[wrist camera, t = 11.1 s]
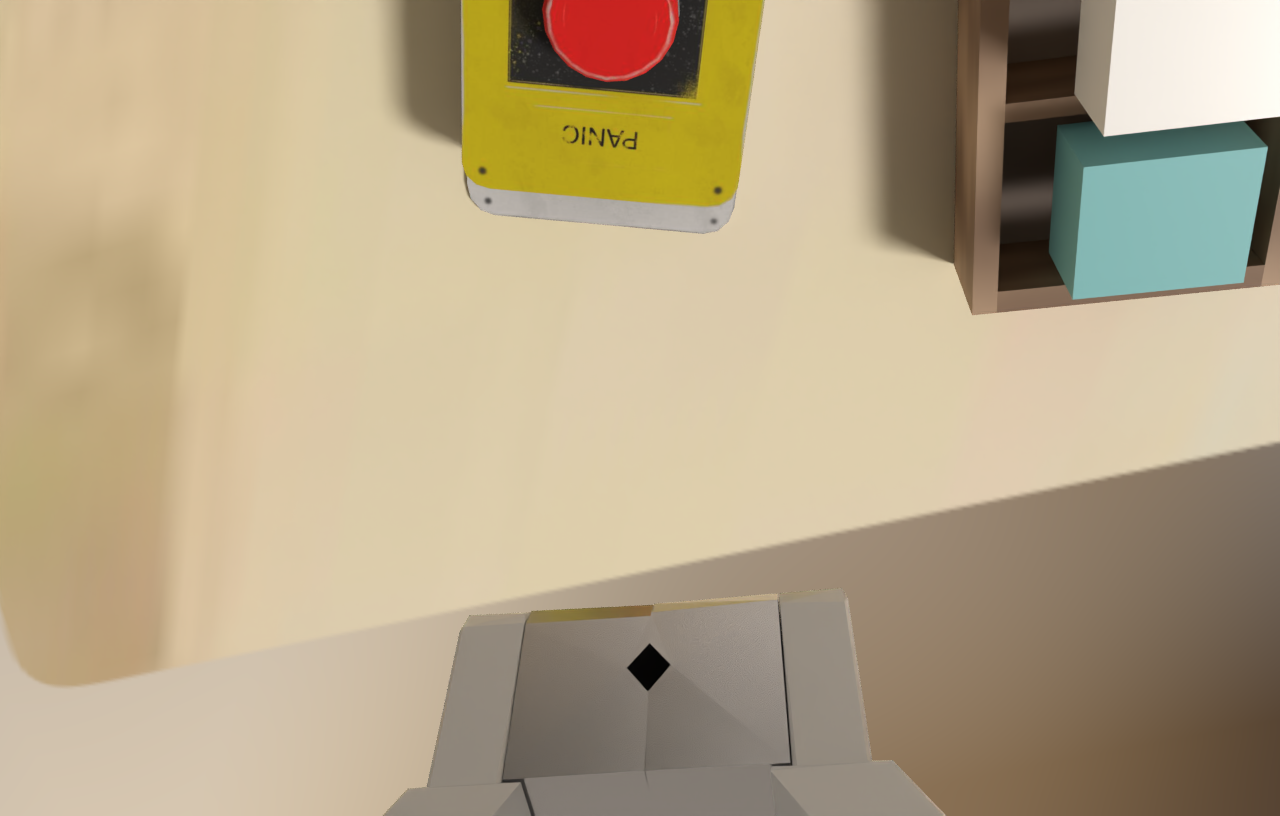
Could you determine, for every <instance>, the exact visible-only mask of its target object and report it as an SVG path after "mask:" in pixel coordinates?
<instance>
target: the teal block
mask: <svg viewBox="0 0 1280 816" xmlns="http://www.w3.org/2000/svg"><path fill="white" fill-rule="evenodd" d="M1267 150H1268V146H1267V145H1266V144H1265V143H1264V142H1263V141H1262V140H1261V139H1260V138H1259V137H1258V136H1257V135H1256V134H1255V133H1254V132H1253V130H1252V129H1251V128H1250V127H1249V126H1248V125H1247V124H1246V123H1245V122H1244V121H1236V122H1227V123H1219V124H1210V125H1201V126H1192V127H1184V128H1175V129H1166V130H1157V131H1148V132H1140V133H1131V134H1122V135H1113V136H1103V135H1102V133H1101V132H1100V130H1099V129H1098V128H1097V126H1096V125H1095V123H1094V122H1093V121H1089V122H1081V123H1072V124H1063V125H1057V139H1056V154H1055V168H1054V183H1053V197H1052V212H1051V226H1050V241H1049V254H1050V256H1051V258H1052V260H1053V262H1054V264H1055V266H1056V268H1057V270H1058V272H1059V274H1060V276H1061V278H1062V280H1063V282H1064V283H1065V285H1066V287H1067V289H1068V291H1069V293H1070V295H1071V297H1072V299H1073V300H1075V299H1085V298H1095V297H1105V296H1115V295H1125V294H1135V293H1145V292H1155V291H1165V290H1175V289H1185V288H1195V287H1205V286H1215V285H1225V284H1235V283H1244V277H1245V272H1246V266H1247V261H1248V255H1249V250H1250V244H1251V239H1252V233H1253V227H1254V222H1255V216H1256V211H1257V205H1258V200H1259V194H1260V189H1261V183H1262V177H1263V172H1264V166H1265V161H1266V155H1267Z"/></svg>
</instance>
